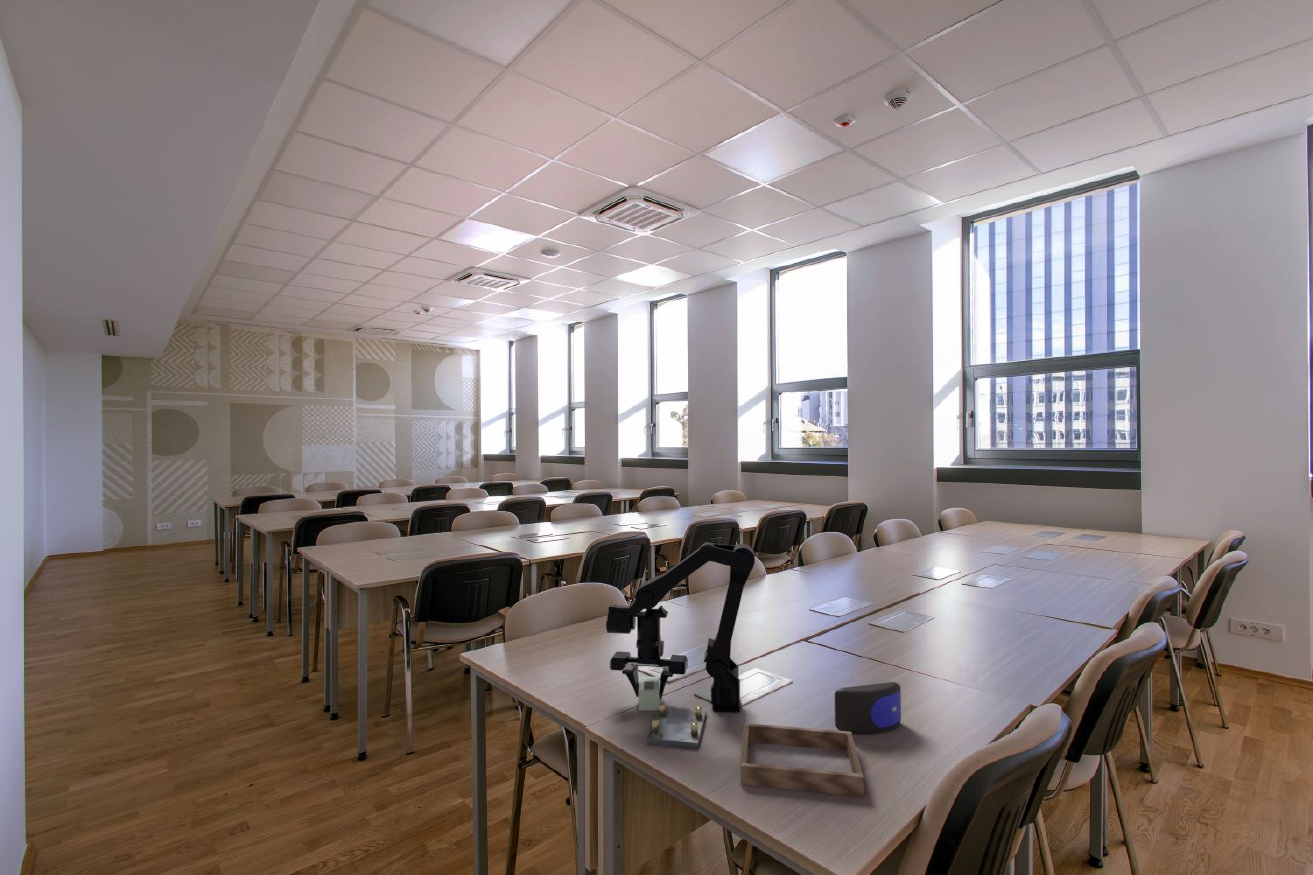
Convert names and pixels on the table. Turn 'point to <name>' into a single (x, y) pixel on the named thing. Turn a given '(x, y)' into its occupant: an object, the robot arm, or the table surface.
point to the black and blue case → (868, 708)
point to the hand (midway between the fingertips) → (649, 697)
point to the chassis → (677, 726)
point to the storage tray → (800, 776)
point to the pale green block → (649, 693)
